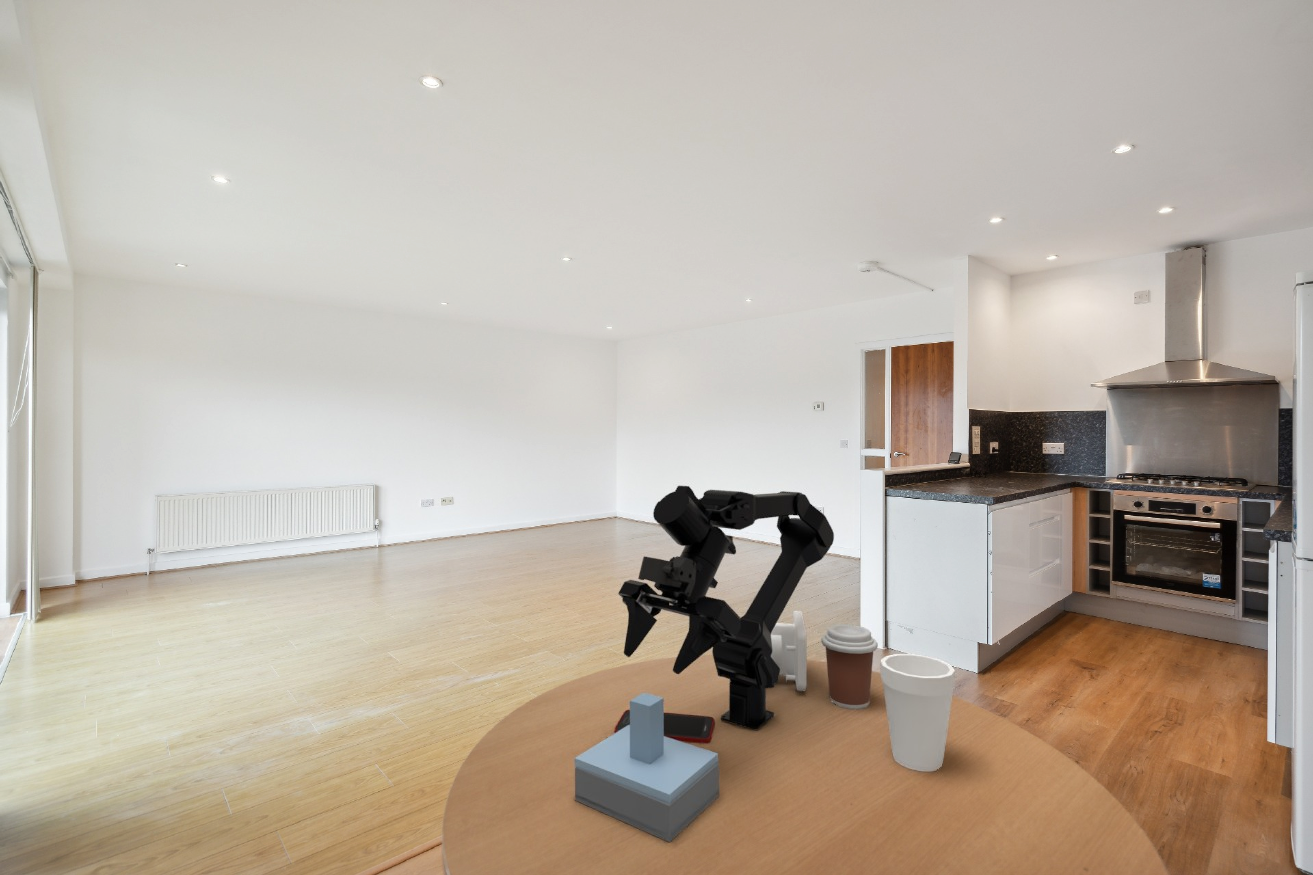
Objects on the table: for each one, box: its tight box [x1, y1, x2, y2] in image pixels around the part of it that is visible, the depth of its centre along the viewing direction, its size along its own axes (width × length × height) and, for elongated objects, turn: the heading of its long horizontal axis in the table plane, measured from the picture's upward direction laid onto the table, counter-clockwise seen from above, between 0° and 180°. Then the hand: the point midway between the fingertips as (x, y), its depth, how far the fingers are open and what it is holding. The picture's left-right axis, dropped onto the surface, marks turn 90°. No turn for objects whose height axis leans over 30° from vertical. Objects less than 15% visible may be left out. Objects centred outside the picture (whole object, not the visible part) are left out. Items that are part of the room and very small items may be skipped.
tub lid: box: [574, 692, 719, 804], centre depth 77 cm, size 11×14×8 cm
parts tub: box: [574, 762, 720, 843], centre depth 77 cm, size 11×14×4 cm
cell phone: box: [613, 709, 716, 744], centre depth 96 cm, size 8×15×1 cm, turn 79°
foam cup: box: [880, 653, 956, 773], centre depth 86 cm, size 10×9×13 cm
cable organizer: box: [771, 610, 808, 692], centre depth 115 cm, size 15×11×12 cm
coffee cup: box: [821, 623, 879, 710], centre depth 106 cm, size 9×9×12 cm
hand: (649, 663), depth 83 cm, fingers open, 9 cm apart
